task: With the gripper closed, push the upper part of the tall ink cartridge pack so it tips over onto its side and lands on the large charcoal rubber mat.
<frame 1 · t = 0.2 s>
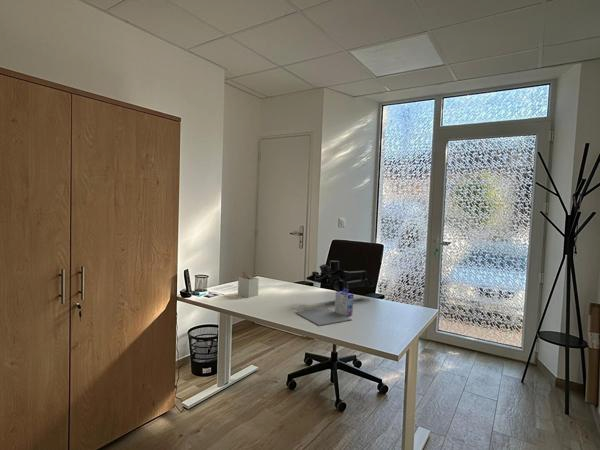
hand: (310, 279, 222), 17 cm above the table, tool horizontal, fingers open, 9 cm apart
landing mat: (323, 316, 201), on the table
ink cartridge box: (343, 313, 209), on the table
white box: (247, 296, 244), on the table
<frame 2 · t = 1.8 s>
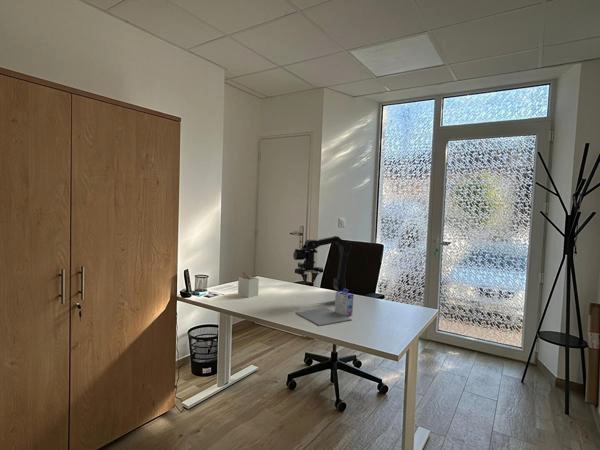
hand: (308, 283, 226), 13 cm above the table, tool pointing down, fingers open, 5 cm apart
nothing on the table moved.
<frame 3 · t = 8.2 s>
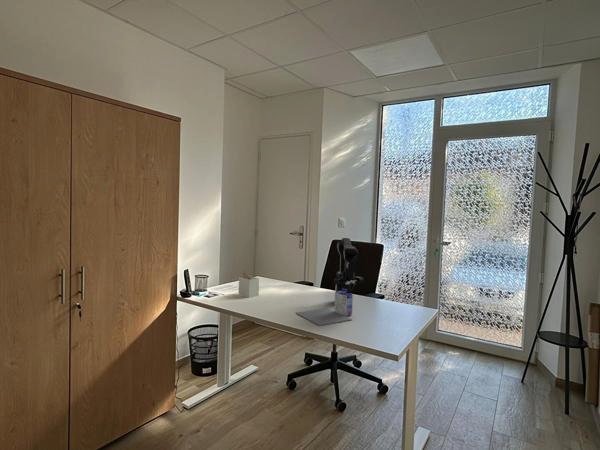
hand: (348, 294, 210), 11 cm above the table, tool pointing down, fingers closed
ink cartridge box: (343, 313, 209), on the table, touching gripper
everything else where it was.
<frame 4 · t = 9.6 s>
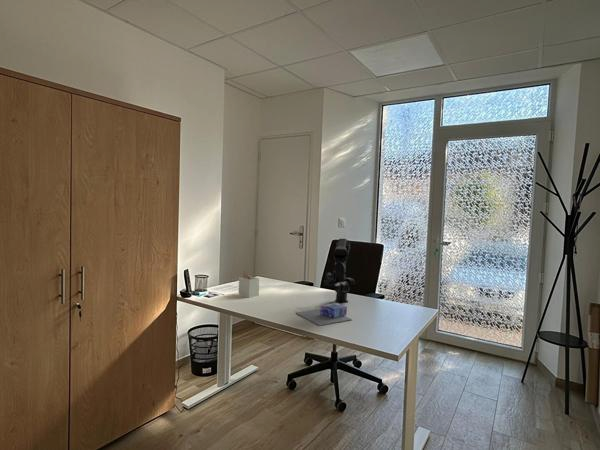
hand: (338, 296, 206), 11 cm above the table, tool pointing down, fingers closed
ink cartridge box: (341, 308, 207), point 3 cm above the table, touching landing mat
everything else where it was.
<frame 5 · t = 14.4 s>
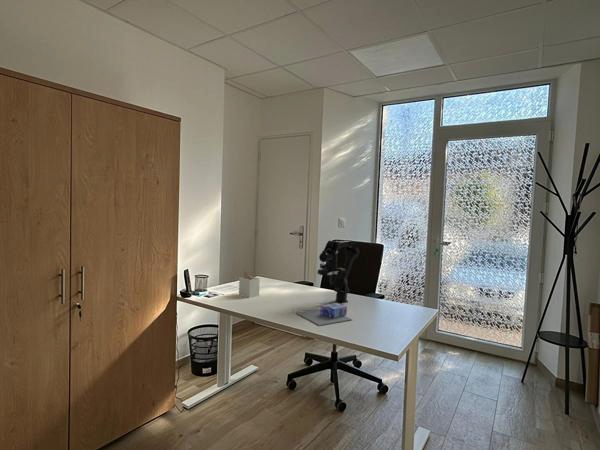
hand: (331, 284, 226), 13 cm above the table, tool pointing down, fingers closed
nothing on the table moved.
at the end: ink cartridge box tilted 91°; ink cartridge box touching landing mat; the gripper is holding nothing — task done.
